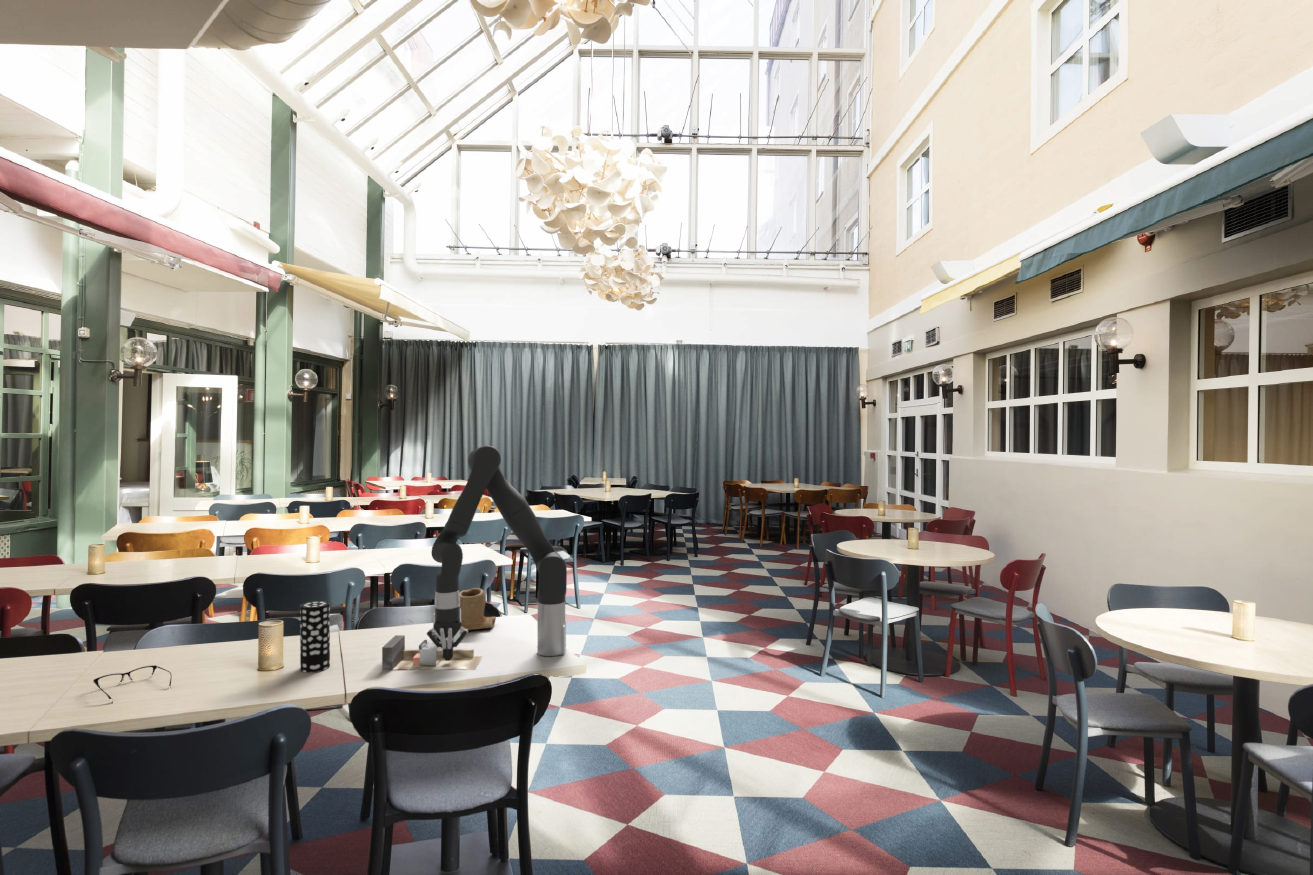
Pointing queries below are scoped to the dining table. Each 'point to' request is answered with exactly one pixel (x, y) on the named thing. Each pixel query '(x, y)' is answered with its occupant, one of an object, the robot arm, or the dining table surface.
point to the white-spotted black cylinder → (314, 636)
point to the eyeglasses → (128, 675)
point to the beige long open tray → (403, 659)
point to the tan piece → (474, 610)
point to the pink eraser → (416, 660)
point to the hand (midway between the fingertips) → (448, 659)
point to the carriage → (429, 654)
